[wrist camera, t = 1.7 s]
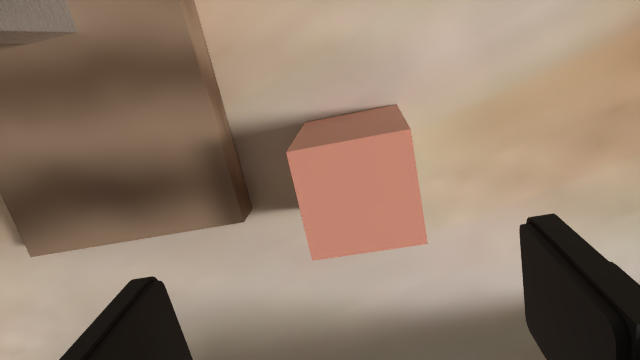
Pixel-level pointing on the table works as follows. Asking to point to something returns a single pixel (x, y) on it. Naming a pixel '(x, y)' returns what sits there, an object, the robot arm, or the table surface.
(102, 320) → the robot arm
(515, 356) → the table surface
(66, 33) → the post
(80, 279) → the table surface
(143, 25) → the base board
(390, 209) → the salmon toy brick
